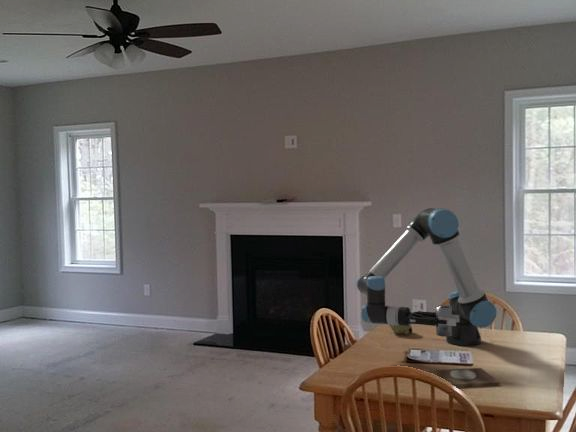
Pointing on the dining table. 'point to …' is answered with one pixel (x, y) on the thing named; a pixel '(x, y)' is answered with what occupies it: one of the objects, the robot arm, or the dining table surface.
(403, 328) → the olive green rounded lump
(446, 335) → the grey metallic can
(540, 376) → the dining table surface
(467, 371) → the brown flat slab
